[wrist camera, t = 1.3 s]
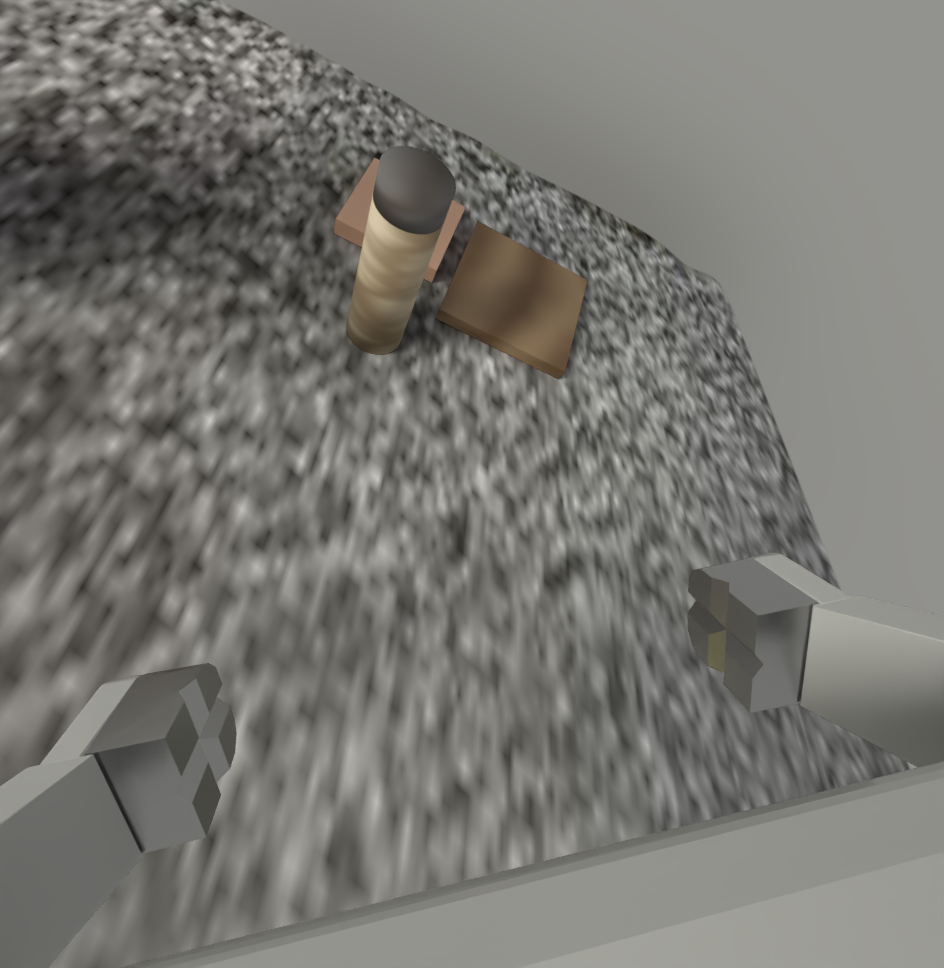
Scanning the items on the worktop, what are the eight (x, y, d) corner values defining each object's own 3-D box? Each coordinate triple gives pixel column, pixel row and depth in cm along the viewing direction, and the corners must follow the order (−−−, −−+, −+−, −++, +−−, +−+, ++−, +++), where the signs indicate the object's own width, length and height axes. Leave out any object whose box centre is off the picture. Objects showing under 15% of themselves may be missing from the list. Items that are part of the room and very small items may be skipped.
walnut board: (435, 318, 43) (439, 309, 42) (473, 231, 49) (477, 220, 48) (558, 379, 46) (565, 371, 45) (581, 289, 51) (587, 280, 50)
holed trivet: (333, 233, 43) (335, 218, 42) (371, 172, 47) (374, 157, 46) (431, 282, 45) (436, 270, 43) (460, 220, 49) (465, 207, 48)
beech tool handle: (337, 338, 39) (367, 178, 27) (358, 299, 41) (395, 134, 29) (390, 363, 40) (442, 218, 28) (408, 324, 42) (464, 173, 30)
